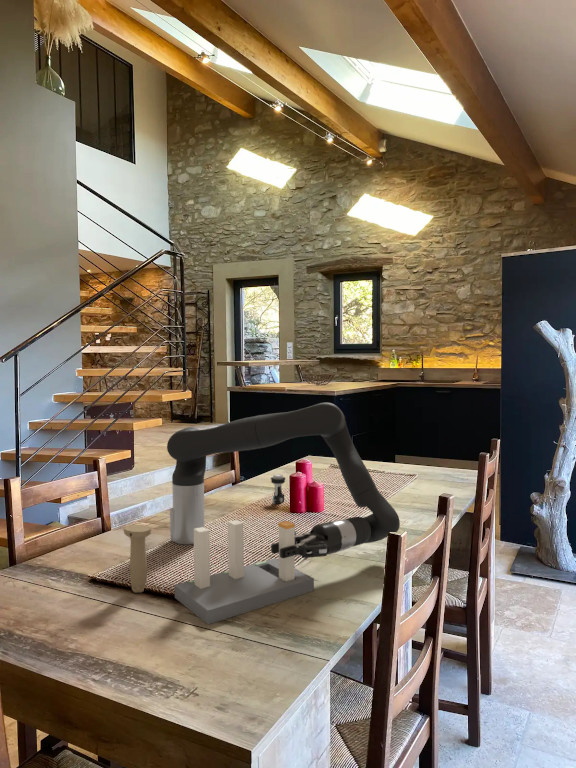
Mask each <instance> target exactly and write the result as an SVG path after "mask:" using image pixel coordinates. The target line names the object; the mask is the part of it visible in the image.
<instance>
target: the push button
mask: <svg viewBox="0 0 576 768" xmlns="http://www.w3.org/2000/svg"><path fill="white" fill-rule="evenodd" d="M270 481H271V483H272V484H273V485H274V491H273V496H272V500H271V502H272V503H271V504H272V505H273V504H274V505H275V504H276V505H278V504H281V503H284V502H285V494H284V493H283V492H282V490H283V489H282V487H283V486H282V485H283V484H285V482H286V477H285V476H283V474H281V473H280V474H279V473H277V474H273V475H272V477H270Z"/></svg>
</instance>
